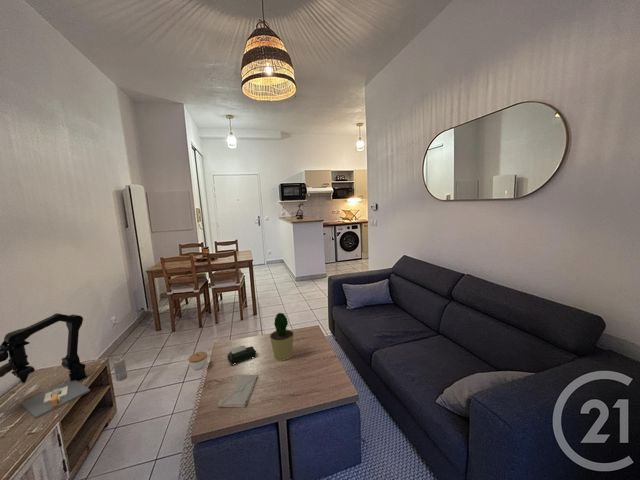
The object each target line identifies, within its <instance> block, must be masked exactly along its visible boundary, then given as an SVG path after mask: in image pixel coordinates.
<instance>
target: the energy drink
mask: <svg viewBox="0 0 640 480" xmlns="http://www.w3.org/2000/svg"><path fill="white" fill-rule="evenodd" d="M113 368H114V374H115V380H116V382H123V381H124V380H126V379H127V378H128V374H127V373H128V372H127V366H126V360H125V358H124V357H119V358H116V359H114V360H113Z"/></svg>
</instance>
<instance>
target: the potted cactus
mask: <svg viewBox="0 0 640 480" xmlns="http://www.w3.org/2000/svg"><path fill="white" fill-rule="evenodd" d="M274 317H275V318H274V322H273V326H274V327H275V328H274V329H275V330H274V331H273V332H271V333H270V335H269V339H270V343H271V346H272V347H271V348H272V351H273V356H274V358H276V359H278V360H277V361H279V360H284V359H287V358H289V357H290V356H291V355H293V344H294V332H293V331H292V330H290V329H287V328H288V326H289V320H288V315H286V314H285V312H283V313H282V312H278V313H276V315H275V316H274ZM291 357H292V356H291ZM276 359H275V360H276ZM289 359H290V358H289ZM287 360H288V359H287ZM284 361H285V360H284Z"/></svg>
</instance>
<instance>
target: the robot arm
mask: <svg viewBox="0 0 640 480" xmlns="http://www.w3.org/2000/svg"><path fill="white" fill-rule="evenodd" d="M83 321H84V317H83V316H82V315H78V314H74V313H72V314H70V315H69V314H63V313H54V314H52V315H51V316H49V317H46V318H44V319H42V320H40V321H37V322H36V323H33V324H32V325H29V326H27V327H23V328H20V329H16V330H13V331H10V332H8V333H6V334H5V336H4V338H3V340H2V343H1V344H0V363H2V362H5V361H8V362H7V363H5V364H3V365H2V366H0V378H2V377H4V376H5V375H7V374H8V373H11V374H12V375H13V376H15V377H16V378H17V379H19V381H20V382H21V383H22V384H25V383H26V382H27V379H28V378H29V375H30V374H32V373H35V371H36V370H35V367H34V366H32V365H30V362H29V360H28V358H29V357H28V354H27V353H26V351H27V350H26V347H25V346H27V345H29V344H31V343H30V341H26V340H27V339H28V338H30V337H31V336H32V335H33V334H35V333H37V332H40V331H41V330H43V329H46V328H48V327H49V326H52V325H54V324H56V323H58V322H62V323H63V322H64V323H65V325H66V327H67V331H68V334H67V335H68V336H67V350H66V356H65V357H63V358H61V361H62V362H61V365H60V366H62V367H63V368H64V369H66V370H68V372H69V373H68V381H73V380H76V381H78V382H80V381H81V380H83V379H86V378H87V377H88V375H86V370H85V369H86V366H87V365H86V364H84V363H81V360H80V356H79V354H78V350H79V349H78V348H79V346H78V345H79V332H80V329H81V327H82V325H83Z"/></svg>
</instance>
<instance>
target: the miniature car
mask: <svg viewBox="0 0 640 480" xmlns="http://www.w3.org/2000/svg"><path fill="white" fill-rule="evenodd" d="M256 356H257V350H255V348H254V347H253V346H247V347H246V345H240V346H237V347H234V348H231V349H230V351H229V353H228V354H227V356H226V360H227V362H228V364H230V365H231V364H234V363H237V364H238V363H240V362H241V361H245V360H248V359H250V358H251V359H252V357H255V358H256Z"/></svg>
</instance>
